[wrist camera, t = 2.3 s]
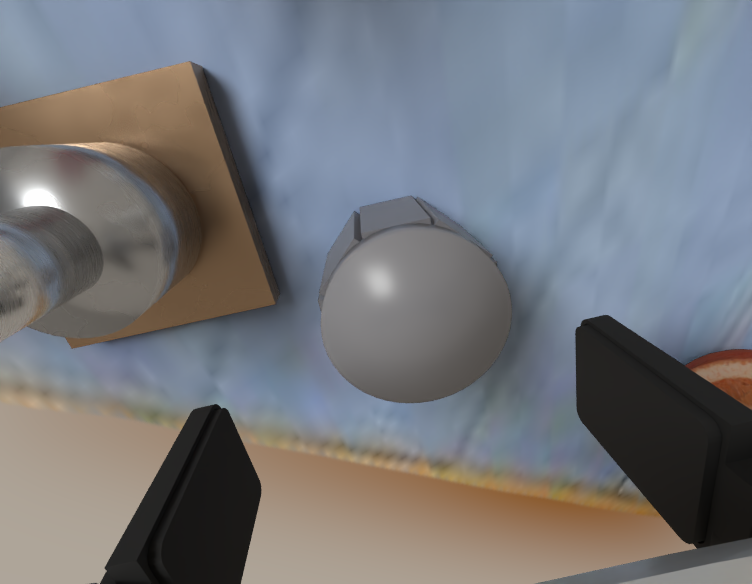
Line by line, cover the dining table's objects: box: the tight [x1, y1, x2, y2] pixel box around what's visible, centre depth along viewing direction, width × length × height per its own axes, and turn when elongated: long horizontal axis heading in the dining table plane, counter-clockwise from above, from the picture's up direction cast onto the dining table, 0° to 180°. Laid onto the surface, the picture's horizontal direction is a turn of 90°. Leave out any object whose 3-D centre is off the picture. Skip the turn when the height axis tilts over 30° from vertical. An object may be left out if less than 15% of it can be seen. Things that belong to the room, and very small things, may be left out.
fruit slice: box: [685, 349, 752, 410], centre depth 20 cm, size 8×7×5 cm
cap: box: [318, 196, 512, 403], centre depth 16 cm, size 7×7×6 cm
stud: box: [0, 61, 280, 348], centre depth 13 cm, size 10×10×9 cm
